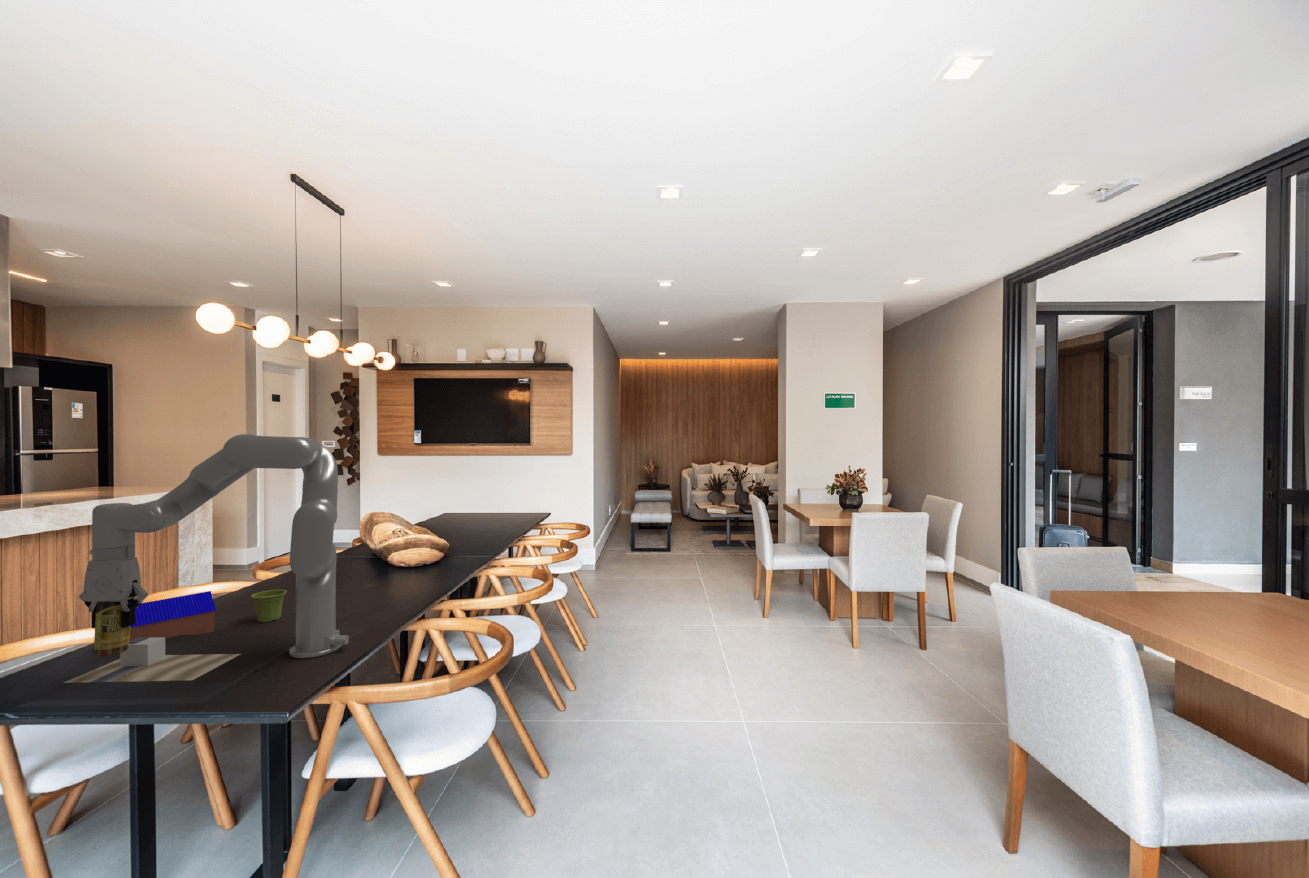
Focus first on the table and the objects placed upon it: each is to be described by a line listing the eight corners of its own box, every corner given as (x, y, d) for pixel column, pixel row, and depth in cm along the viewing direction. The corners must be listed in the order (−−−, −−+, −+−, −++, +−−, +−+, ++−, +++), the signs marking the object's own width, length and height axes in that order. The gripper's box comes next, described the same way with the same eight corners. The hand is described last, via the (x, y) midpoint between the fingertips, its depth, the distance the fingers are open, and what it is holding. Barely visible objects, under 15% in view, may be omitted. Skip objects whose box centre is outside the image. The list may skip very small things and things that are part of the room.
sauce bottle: (99, 659, 128) (99, 576, 128) (89, 654, 131) (89, 573, 131) (135, 650, 134) (135, 570, 134) (125, 645, 137) (125, 567, 137)
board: (241, 658, 145) (241, 653, 145) (192, 685, 129) (192, 680, 129) (127, 660, 144) (127, 655, 144) (63, 687, 128) (63, 682, 128)
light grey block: (165, 658, 143) (165, 636, 143) (147, 665, 138) (147, 643, 138) (138, 658, 143) (138, 636, 143) (120, 666, 138) (120, 643, 138)
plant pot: (258, 616, 180) (258, 590, 180) (290, 613, 183) (290, 588, 183) (246, 625, 171) (246, 598, 171) (280, 622, 174) (280, 595, 174)
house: (119, 642, 158) (119, 602, 158) (205, 623, 174) (205, 587, 174) (126, 652, 151) (126, 610, 151) (216, 631, 166) (215, 594, 166)
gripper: (61, 557, 129) (61, 632, 129) (135, 556, 129) (135, 631, 129) (93, 550, 136) (93, 621, 136) (163, 550, 137) (163, 620, 137)
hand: (113, 625), depth 133 cm, fingers closed on sauce bottle, 6 cm apart
